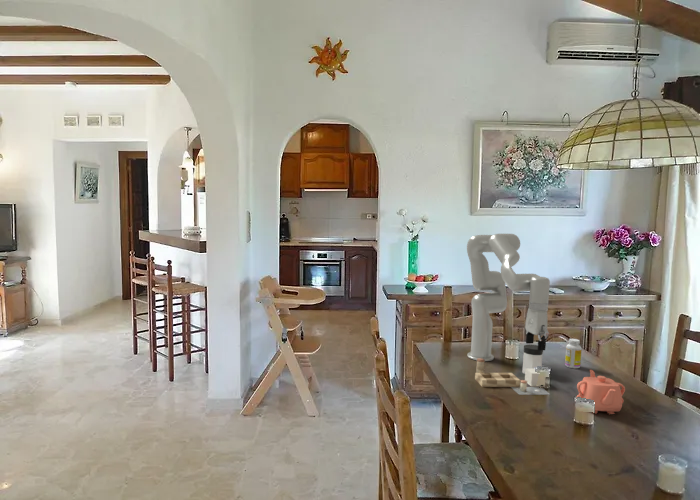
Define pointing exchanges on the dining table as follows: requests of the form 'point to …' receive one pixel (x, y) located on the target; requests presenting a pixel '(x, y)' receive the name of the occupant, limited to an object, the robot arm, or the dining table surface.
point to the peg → (480, 365)
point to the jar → (531, 357)
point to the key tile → (529, 389)
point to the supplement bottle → (573, 354)
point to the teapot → (602, 392)
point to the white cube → (531, 377)
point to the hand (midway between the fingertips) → (535, 346)
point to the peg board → (497, 380)
